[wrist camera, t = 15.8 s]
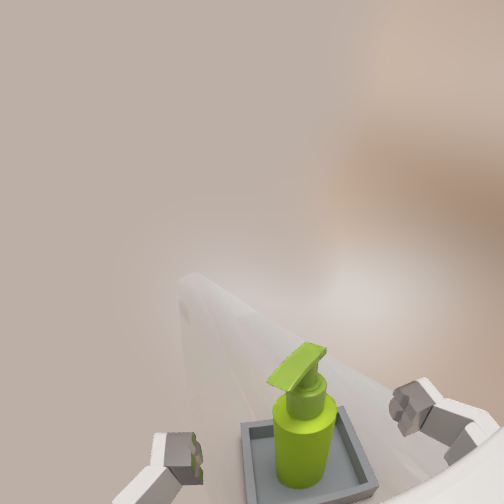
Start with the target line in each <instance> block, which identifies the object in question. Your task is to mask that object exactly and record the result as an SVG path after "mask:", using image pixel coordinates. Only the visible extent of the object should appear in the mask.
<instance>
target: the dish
mask: <svg viewBox="0 0 504 504" xmlns="http://www.w3.org/2000/svg"><path fill="white" fill-rule="evenodd" d="M241 436H242V449H243V461H244V473H245V484H246V495H247V504H350V503H353V502H356V501H359V500H362V499H365V498H368V497H371V496H372V495H373V494H374V492H375V491H376V490H377V488H378V487H379V484H378V481H377V479H376V477H375V475H374V472H373V470H372V468H371V466H370V463H369V461H368V459H367V457H366V454H365V452H364V450H363V448H362V445H361V443H360V441H359V439H358V437H357V434H356V432H355V430H354V428H353V426H352V423H351V421H350V419H349V417H348V415H347V413H346V410H345V408H344V406H340V407H337V415H336V421H335V426H334V431H333V436H332V440H331V445H330V449H329V453H328V458H327V462H326V466H325V470H324V474H323V476H322V478H321V479H320V481H319V482H317V483H316V484H315V485H313V486H311V487H308V488H305V489H293V488H289V487H287V486H285V485H283V484H282V483H281V482H280V481H279V480H278V478H277V475H276V461H275V444H274V428H273V419H272V420H264V421H255V422H246V423H241Z"/></svg>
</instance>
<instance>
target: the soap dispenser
mask: <svg viewBox="0 0 504 504" xmlns="http://www.w3.org/2000/svg"><path fill="white" fill-rule="evenodd" d="M325 354H326V348H325V347H322V346H318V345H315V344H312V343H309V342H305V343H304V344H303V345H301V346H300V347H299V348H298V349H296V350H295V351H294V352H293V353H292V354H291V355H290V356H289V357H287V358H286V359H285V360H284V361H283V362H282V364H281V365H280V366H279V367H278V368H277V369H276V370H275V372H274V373H273V374H272V375H271V376H270V378H269V379H268V380H267V383H268V384H270V385H272V386H274V387H277V388H279V389H281V390H284V391H286V393H285V394H284V395H282V396H281V397H280V398H279V399H278V400H277V401H276V402H275V404H274V406H273V428H274V444H275V461H276V475H277V478H278V480H279V481H280V482H281V483H282V484H283V485H285V486H287V487H289V488H293V489H305V488H308V487H311V486H313V485H315V484H316V483H317V482H319V481H320V479H321V478H322V476H323V474H324V470H325V466H326V462H327V458H328V453H329V449H330V445H331V440H332V436H333V431H334V426H335V421H336V415H337V405H336V403H335V401H334V399H333V398H332V397H331V396H330V395H328V394H327V393H326V385H327V384H326V380H325V378H324V377H323V376H322V375H321V374H319V373H317V370H318V361H319V360H320V359H321V358H322V357H323V356H324V355H325Z"/></svg>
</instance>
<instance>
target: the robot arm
mask: <svg viewBox="0 0 504 504" xmlns="http://www.w3.org/2000/svg"><path fill="white" fill-rule="evenodd" d="M393 396H394V398H393V399H392V400H391V401H390V404H389V412H390V415H391V417H392V418H393V420H395V421H397V422H398V428H399V430H400V431H401V433H402V435H403V436H404V437H406V436H408V435H410V434H412V433H415V432H417V431H419V430H420V431H421V432H423V433H424V434H426V435H428V436H430V437H432V438H434V439H436V440H437V441H439V442H441V443H443V444H445V445H447V446H449V447H450V448H449V450H448V451H447V452H446V453H445V455H444V458H445V460H446V462H447V463H448V465H449V467H447V468H446V469H444V470H443V471H441V472H439V473H438V474H436V475H434V476H433V477H431V478H429V479H427V480H426V481H424V482H422V483H420V484H418V485H416V486H414V487H413V488H411V489H409V490H407V491H405V492H403V493H400V494H398V495H396V496H394V497H392V498H390V499H387V500H385V501H383V502H380V503H378V504H504V425H503V426H502V427H501V428H500V427H499V425H498V424H497V423H496V422H495V421H494V419H493V418H492V417H491V416H490V415H489V414H488V412H486V411H485V410H482V409H479V408H475V407H473V406H469V405H467V404H464V403H461V402H457V401H454V400H452V399H449V398H446V399H444V398H443V396H442V395H441V394H440V393H439V392H438V391H437V389H436V388H435V387H434V386H433V385H432V383H431V382H430V381H429V380H428V379H427V378H426V377H422V378H420V379H418V380H415V381H412V382H411V383H408V384H406V385H403V386H401V387H398V388H397V389H395V390H394V392H393ZM202 462H203V456H202V450H201V446H200V444H199V442H197V441H196V435H195V434H194V432H185V433H184V432H183V433H155V435H154V437H153V445H152V453H151V460H150V466H146V467H145V468H144V469H143V470H142V471H141V472H140V473H139V474H138V475H137V476H136V478H134V480H132V481H131V482H130V483H129V484H128V485H127V486H126V488H124V490H123V491H122V492H121V493H119V495H117V497H115V498H114V499H113V502H112V504H171V502H172V501H173V499H174V498H175V497H176V495H177V494H178V492H179V491H180V489H181V488H182V485H203V470H202V469H201V467H200V465H201V464H202Z"/></svg>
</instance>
